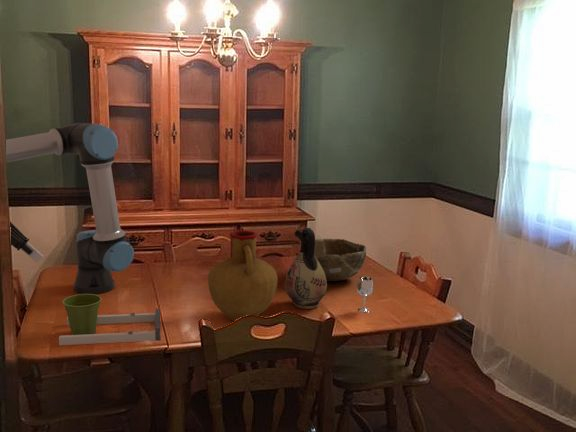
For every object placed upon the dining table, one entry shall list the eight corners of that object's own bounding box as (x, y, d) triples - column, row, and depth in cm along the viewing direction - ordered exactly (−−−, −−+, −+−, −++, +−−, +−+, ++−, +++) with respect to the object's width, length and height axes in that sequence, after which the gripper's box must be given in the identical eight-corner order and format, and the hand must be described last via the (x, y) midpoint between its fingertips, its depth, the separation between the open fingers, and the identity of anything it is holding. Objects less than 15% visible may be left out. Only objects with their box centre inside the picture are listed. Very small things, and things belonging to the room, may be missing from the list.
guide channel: (59, 345, 190) (58, 333, 189) (67, 323, 207) (67, 312, 206) (160, 340, 195) (160, 328, 195) (160, 319, 213) (160, 308, 212)
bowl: (349, 294, 245) (350, 257, 242) (289, 282, 258) (290, 247, 255) (375, 277, 268) (377, 243, 265) (319, 267, 281) (320, 235, 278)
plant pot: (66, 327, 204) (64, 294, 202) (103, 325, 206) (102, 292, 204) (61, 341, 192) (60, 306, 190) (101, 339, 195) (100, 304, 193)
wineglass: (367, 314, 223) (369, 282, 221) (353, 311, 226) (354, 279, 224) (374, 309, 228) (376, 278, 226) (360, 306, 231) (361, 275, 229)
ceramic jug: (278, 300, 235) (280, 222, 229) (315, 296, 241) (318, 220, 235) (295, 315, 220) (297, 232, 214) (335, 311, 226) (338, 230, 220)
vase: (284, 327, 209) (287, 239, 203) (214, 333, 202) (214, 243, 196) (266, 304, 231) (268, 224, 225) (202, 308, 224) (202, 227, 219)
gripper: (-23, 212, 197) (35, 262, 204) (-35, 220, 185) (27, 273, 191) (-6, 195, 198) (52, 246, 204) (-17, 202, 185) (45, 256, 191)
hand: (40, 259), depth 198 cm, fingers closed
